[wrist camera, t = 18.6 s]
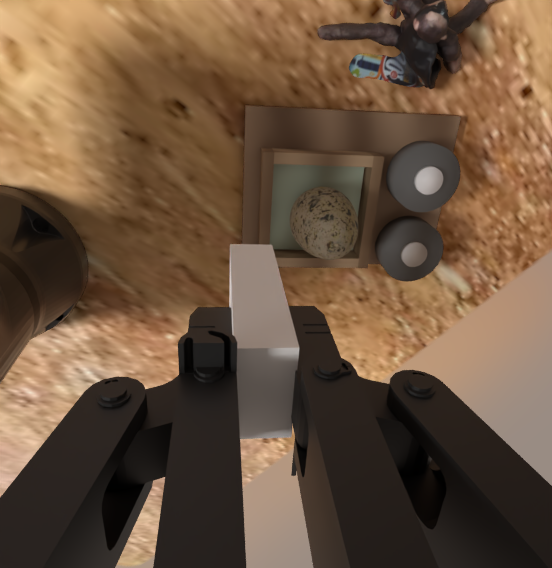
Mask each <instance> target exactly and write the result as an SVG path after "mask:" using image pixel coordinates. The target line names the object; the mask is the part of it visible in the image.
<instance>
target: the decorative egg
mask: <svg viewBox="0 0 552 568" xmlns="http://www.w3.org/2000/svg"><path fill="white" fill-rule="evenodd" d="M290 227H291V231H292V234H293V236H294V238H295V240H296V241H297V243H298V244H299V245H300V246H301V247H302V248H303V249H304V250H305V251H306V252H308V253H309V254H311V255H313V256H315V257H318V258H320V259H325V260H334V259H339V258H341V257H343V256H345V255H346V254H347V253H349V252H350V250H351V249H352V248H353V246H354V244H355V242H356V240H357V236H358V218H357V214H356V211H355V209H354V207H353V205H352V203H351V202H350V200H349V199H348V198H347V197H346V196H345V195H344V194H343V193H341V192H340V191H338V190H336V189H333V188H330V187H315V188H312V189H309V190H307V191H305V192H304V193H303V194H301V195H300V196H299V197H298V198H297V200H296V201H295V203H294V204H293V207H292V209H291V213H290Z"/></svg>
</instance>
